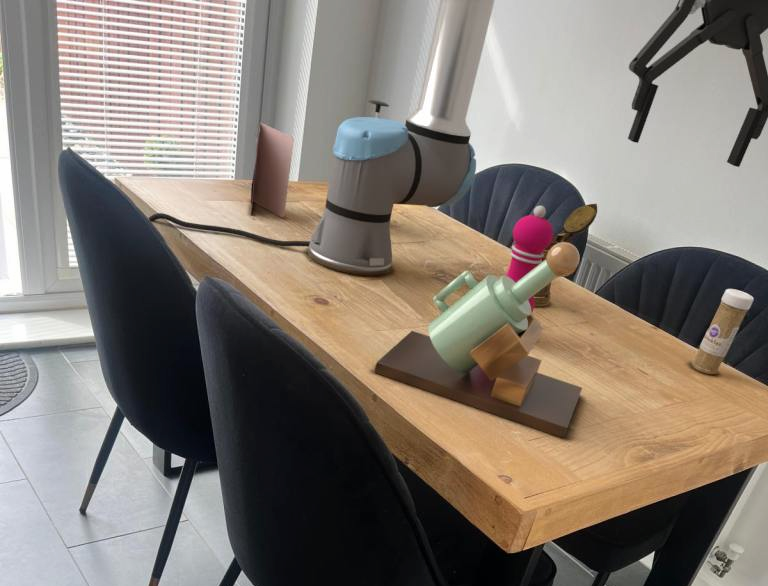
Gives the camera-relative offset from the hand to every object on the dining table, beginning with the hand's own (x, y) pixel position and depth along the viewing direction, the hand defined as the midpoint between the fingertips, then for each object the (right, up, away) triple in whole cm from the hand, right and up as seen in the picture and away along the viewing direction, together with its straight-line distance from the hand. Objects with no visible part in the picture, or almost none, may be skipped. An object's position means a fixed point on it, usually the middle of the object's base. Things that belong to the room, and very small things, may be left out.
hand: (682, 153), depth 98 cm
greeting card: (-63, +15, +57) cm, 86 cm away
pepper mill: (-19, -17, +26) cm, 36 cm away
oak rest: (-23, -29, +4) cm, 37 cm away
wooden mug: (-10, -6, +45) cm, 47 cm away
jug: (-26, -28, +5) cm, 38 cm away
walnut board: (-25, -29, +6) cm, 39 cm away
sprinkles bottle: (+16, -22, +31) cm, 41 cm away
